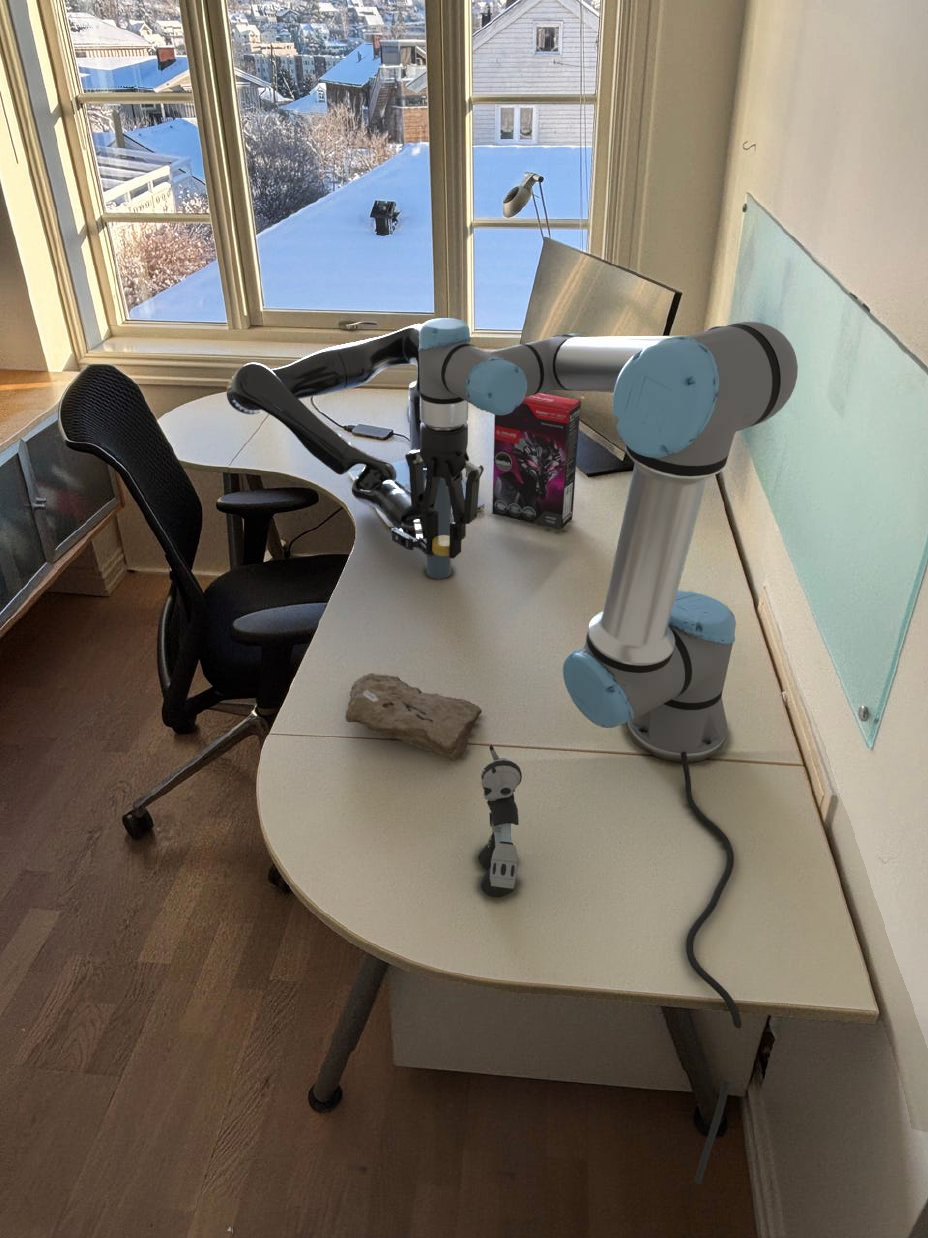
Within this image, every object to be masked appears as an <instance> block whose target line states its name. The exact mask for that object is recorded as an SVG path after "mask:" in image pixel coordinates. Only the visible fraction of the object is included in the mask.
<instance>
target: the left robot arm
mask: <svg viewBox="0 0 928 1238" xmlns="http://www.w3.org/2000/svg"><path fill="white" fill-rule="evenodd" d="M423 324H424V323H417V324H413V325H410V326H407V327H404V328H402V329H399V330H397V331H393V332H391V333H389V334H385V335H382V336H378V337H373V338H368V339H365V340H359V341H356V342H355V341H354V342H349V343H345V344H344V343H343V344H341V345H336V346H332V347H327V348H325V349H322V350H319V351H317V352H314V353H312V354H309V355H307V356H305V357H303V358H301V359H299V360H296V361H294V362H292V363H290V364H288V365H284V366H281V367H278V368H271V369H270V368H269V367H267V366H266V365H264V364H261V363H258V362H249V363H246V364H244V365H242V366H241V367H240V368H238V370H236V372H235V374H234V375H233V376H232V377H231V379H230V380H229V382H228V383H227V387H226V399H227V402H228V404H229V405H230V407H231V408H232V409H234V410H235V411H236V412H238V413H241V414H243V415H249V416H255V415H259V414H262V413H264V412H265V413H266V414H268V415H270V416H272V417H273V418H275V419H276V420H278V421H279V422H280V423H281V424H283V425H284V426H285V427H286V428H287V429H288V430H289V431H290V432H291V433H292V434H293V435H294V436H295V438H296V439H297V440H298V441H299V442H300V444H301V445H302V446H303V447H304V448H305V450H307V452H309V453H310V455H312V456H313V457H314V458H315V459H317V460H318V461H319V462H320V463H322V464H323V465H324V466H326V467H327V468H328V469H330V470H331V471H332V472H334V473H335V474H337V475H340V476H343V475H345V474H346V473H348V472H349V471H350V470H352V468H354V467H355V466H357V465H364V467H363V468H362V469H361V470H360V472H359V473H358V475H357V476H356V477H355V478H354V480H352V483H351V486H350V491H351V494H352V496H353V498H355V500H357V501H358V502H360V503H361V504H364V505H367V506H368V507H371V508H376V509H378V511H380V512H381V513H382V514H383V515H384V516H385V518H386V520H388V522H389V523H390V524H391V525H392V526H393V527H392V528H391V529H390V530H391V541H392V542H394V543H395V544H397V545H398V546H401V547H402V548H403V549H406V550H407V551H413V550H414V549H415V548H416V549H417V550H420V551H421V552H422V553H423V554H424V555H425V556H426V555H429V556H430V557H431V556H434V553H433V551H431V552H429V551H426V531H423V528H422V514H421V512H420V511H419V510H418V509H416V510H415V509H413V508H412V506H411V491H410V490H407V489H406V488H405V487H404V486H403V485H402V484H401V483H400V482H398V481H397V477H398V476H397V475H398V474H397V471H396V469H395V467H394V466H393V465H392V464H391V462H388V461H387V460H385V459H382V458H380V457H378V456H375V455H372V454H370V453H368V452H366V451H364V450H361V449H360V448H358V446H357V447H356V446H355V445H353V444H352V443H351V442H350V441H348V439H346V438H345V437H343V436H342V435H341V434H339V433H338V432H337V431H336V430H334V429H333V428H332V427H331V426H329V425H328V424H326V422H324V421H323V420H322V419H321V418H319V416H317V415H316V414H315V413H314V412H313V411H311V410H310V408H308V407H307V406H306V405H305V403H304V402H302V401H301V400H302V399H309V398H313V397H318V396H319V397H320V396H323V395H327V394H332V393H333V394H334V393H339V392H343V391H346V390H349V389H353V388H357V387H360V386H362V385H365V384H366V383H368V382H370V381H371V380H372V379H373V378H375V377H376V376H377V375H378V374H380V373H381V372H383V371H384V370H387V369H389V368H393V367H399V366H403V365H414V366H416V380H415V381H413V382H411V383H410V384H409V386H408V403H407V407H406V415H407V420H408V422H409V452H411V451H412V450H414V449H417V450H420V448H421V446H422V445H421V442H420V424H421V420H420V377H419V351H418V348H419V343H420V328H421V326H422V325H423ZM422 462H423V468H427V467H426V465H425V463H424V461H422ZM423 472H424V474H426V472H427V470H423ZM452 521H454V519H453V513H451V522H452Z"/></svg>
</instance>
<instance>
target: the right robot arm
mask: <svg viewBox="0 0 928 1238" xmlns="http://www.w3.org/2000/svg"><path fill="white" fill-rule="evenodd" d="M422 324H423V325H422V326H421V328H420V343H419V348H418V351H419V377H420V420H421V424H420V442H421V445H422V446H421V448H420V450H417V449H414V450H412V451H411V452H410V451H409V452H408V453H406V454H405V456H404V458H405V460H406V464H407V466H408V472H409V474H408V475H409V491H410V492H411V506H412V508H413V509H415V510H416V509H418V510H419V511H420V512H421V514H422V528H423V531H426V551H429V552H431V551H432V541H433V539H434V538H435V537H436V536H438V511H433V509H434V508H436V506H435V501H436V496H437V491H438V486H439V481H440V477H442V478H444V479H445V483H446V486H448V490H449V496H450V502H451V514H452V515H453V519H454V521H452V522H451V523H450V557H449V558H451V560H452V559H453V560H454V559H455V558H456V557H457V556H458V555H460V554H461V553H462V540H464V539H465V538H466V536H467V534H466V533H467V525H470V524H471V523H472V522H473V521H474V520H475V519H476V518H477V517H478V510H479V509H478V506H479V494H480V478H481V477H482V475H483V472H484V466H483V464H482V465H481V464H478V465H476V464H474V463H473V462H471V461H470V457H469V455H468V452H467V449H468V445H469V444H468V443H469V424H468V421H469V404H471V405H472V406H473V407H475V408H476V409H477V410H480V411H484V412H487V413H490V414H492V415H494V416H495V415H506V414H509V413H511V412H512V411H513V410H514V409H515V408H516V407H518V406H519V405H520V404H521V403H522V401H523V399H524V397H528V396H531V395H535V394H539V393H543V394H544V393H546V392H552V391H566V392H567V391H569V392H570V391H571V392H572V391H574V392H575V391H576V392H591V393H593V392H595V393H610V394H611V393H612V416H613V418H614V419H617V422H618V423H617V424H616V425H615V428H616V430H617V432H618V435H619V437H620V438H621V440H622V441H623V443H624V449H625V452H626V454H627V456H628V457H629V458H630V460H632V462H633V463H634V465H633V469H632V474H631V479H630V484H629V488H628V493H627V498H626V503H625V507H624V512H623V513H624V514H623V517H622V522H621V526H620V530H619V536H618V541H617V546H616V549H615V555H614V560H613V565H612V569H611V573H610V579H609V584H608V589H607V593H606V597H605V603H604V606H603V610H602V611H600V612H599V613H597V614H596V615H594V616H593V617H592V619H591V620H590V622H589V625H588V628H587V632H586V637H585V642H584V645H583V647H581V649H575V650H574V651H572V652H571V653H570V654H569V655H567V656H566V658H565V659H564V661H563V664H562V676H563V677H562V678H563V681H564V685H565V688H566V690H567V693H568V695H569V696H570V699H571V701H572V702H573V704H574V705H575V707H576V708H577V709H578V710H579V712H580V713H581V714H582V715H583V716H584V717H585V718H586V719H587V720H588V721H590V722H591V723H593V724H595V725H596V726H598V727H600V728H603V729H614V728H617V727H620V726H621V725H623V724H625V728H626V732H627V734H628V736H629V738H630V739H631V741H632V742H634V744H636V745H637V746H638V747H639V748H640V749H641V750H643V751H645V752H646V753H648V754H650V755H651V756H654V757H656V758H659V759H662V760H666V761H670V762H675V763H681V764H682V769H683V777H684V791H685V792H684V793H685V797H686V801H687V803H688V806H689V807H690V809H691V811H692V812H693V814H694V815H695V816H696V818H698V819H699V820H700V821H701V822H702V823H703V824H704V825H706V826H707V827H708V829H710V830H711V831H712V832H713V833H714V834H715V835H717V837H718V838H719V839H720V840H721V842H722V844H723V845H724V848H725V850H726V865H725V869H724V871H723V873H722V875H721V878H720V880H719V881H718V883H717V885H716V887H715V889H714V891H713V894H712V896H711V898H710V900H709V903H708V904H707V905H706V907H705V909H704V910H703V911H702V912H701V914H700V915H699V916H698V917H697V919H695V921H694V922H693V924H692V925H691V927H690V928H689V930H688V933H687V935H686V939H685V941H686V942H685V951H686V956H687V961H688V962H689V964H690V966H691V969H693V970H694V972H695V973H696V974H697V975H698V976H699V977H700V978H701V979H702V980H703V981H704V982H705V983H706V984H707V985H709V986H710V988H712V989H713V990H714V991H715V992H716V993H717V994H718V995H719V996H720V997H721V998H722V1000H723V1001H724V1002H725V1004H726V1006H727V1008H728V1010H729V1012H730V1015H731V1018H732V1023H733V1025H734V1027H735V1028H736V1029H741V1028H742V1026H743V1025H742V1018H741V1015H740V1012H739V1009H738V1006H737V1004H736V1003H735V1001H734V999H733V998H732V996H731V995H730V994H729V992H728V991H727V990H726V989H725V987H723V986H722V985H721V983H719V982H718V981H717V980H716V979H715V978H714V977H712V976H711V975H710V974H709V973H708V972H707V971H706V970H705V969H704V968H703V967H702V966H701V965H700V963H699V961H698V960H697V958H696V956H695V951H694V942H695V938H696V936H697V934H698V931H699V930H700V928H702V925H704V923H705V922H706V921H707V919H709V917H710V916H711V914H712V913H713V912H714V910H715V908H716V906H717V905H718V902H719V901H720V898H721V895H722V894H723V891H724V890H725V887H726V886H727V883H728V881H729V879H730V877H731V875H732V873H733V869H734V865H735V855H734V850H733V845H732V844H731V841H730V839H729V838H728V836H727V835H726V834H725V833H724V832H723V830H722V829H721V828H720V827H718V825H716V824H715V823H714V822H713V821H711V819H710V818H708V817H707V815H705V814H704V813H703V812H702V810H700V808H699V807H698V806H697V804H696V802H695V800H694V797H693V793H692V778H691V771H690V766H689V763H694V762H700V761H703V760H706V759H709V758H711V757H714V755H716V754H718V752H720V751H721V750H722V748H723V747H724V744H725V743H726V740H727V739H726V738H727V734H728V721H727V716H726V712H725V708H724V707H725V706H724V701H723V692H724V686H725V682H726V678H727V674H728V668H729V664H730V659H731V654H732V651H733V650H732V649H733V645H734V643H735V641H736V627H737V621H736V617H735V615H734V613H733V611H732V610H731V609H730V608H729V607H728V606H727V605H726V604H725V603H723V602H722V601H720V600H719V599H717V598H714V597H712V596H709V595H707V594H703V593H699V592H694V591H689V590H679V587H680V584H681V580H682V576H683V573H684V569H685V564H686V562H687V558H688V554H689V550H690V546H691V543H692V540H693V536H694V532H695V529H696V524H697V521H698V517H699V514H700V513H699V512H700V510H701V506H702V502H703V498H704V494H705V491H706V487H707V483H708V480H709V478H711V477H714V476H715V475H718V474H719V473H721V471H723V470H724V468H725V467H726V466H727V462H728V458H729V456H730V451H731V448H732V444H733V441H734V437H735V434H737V433H738V432H739V431H742V430H745V429H748V428H751V427H754V426H756V425H760V424H762V423H765V422H766V421H768V420H769V419H771V418H773V417H774V416H775V415H776V414H778V413H779V412H780V411H781V410H782V409H783V408H784V406H785V405H786V404H787V402H788V401H789V400H790V398H791V396H792V394H793V392H794V390H795V387H796V384H797V379H798V371H799V369H798V368H799V366H798V360H797V355H796V351H795V349H794V347H793V345H792V343H791V342H790V341H789V340H788V337H786V336H785V334H783V333H782V332H781V331H780V330H779V329H778V328H776V327H773V326H771V325H769V324H767V323H763V322H758V321H757V322H756V321H743V322H735V323H732V324H728V325H718V326H717V325H716V326H712V327H709V328H707V329H705V330H704V331H701V332H697V333H694V334H689V335H641V336H639V335H637V336H635V335H634V336H633V335H632V336H585V337H584V336H582V334H579V333H563V334H556V335H553V336H552V337H547V338H544V339H540V340H535V341H532V342H526V343H521V344H516V345H512V346H508V347H503V348H499V349H493V350H484V349H482V348H480V347H477V346H475V345H473V344H472V343H471V339H472V338H471V333H470V327H469V325H468V323H467V322H466V321H464V320H462V319H459V318H458V319H457V318H451V317H441V318H440V317H439V318H434V319H430V320H427V321H425V322H424V323H422ZM422 461H424V463H425V465H426V467H427V472H426V473H424V472H423V462H422ZM464 469H465V475H464V476H465V478H466V481H465V489H464V488H463V470H464ZM424 474H425V477H424ZM425 480H426V481H425ZM425 484H426V485H425ZM464 490H465V492H464ZM434 506H435V507H434ZM730 1085H731V1081H727V1080H725V1079H723V1080H722V1081H721V1086H720V1089H719V1090H720V1091H719V1094H718V1099H717V1103H716V1107H715V1110H714V1114H713V1118H712V1121H711V1124H710V1127H709V1131H708V1134H707V1137H706V1141H705V1143H704V1147H703V1150H702V1153H701V1156H700V1159H699V1163H698V1166H697V1169H696V1173H695V1177H694V1183H695V1184H697V1185H700V1184H702V1182H703V1181H702V1180H703V1177H704V1174H705V1170H706V1167H707V1163H708V1160H709V1157H710V1154H711V1151H712V1148H713V1145H714V1143H715V1140H716V1136H717V1133H718V1130H719V1127H720V1124H721V1121H722V1117H723V1114H724V1110H725V1106H726V1103H727V1098H728V1094H729V1090H730Z"/></svg>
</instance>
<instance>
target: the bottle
mask: <svg viewBox="0 0 928 1238" xmlns="http://www.w3.org/2000/svg"><path fill="white" fill-rule="evenodd" d="M425 485H426V483H424V486H425ZM435 506H436V508H434V509H433V511H438V536H440V535H448V536H450V523H451V514H452V507H451V502H450V496H449V490H448V486H446V483H445V479H444V478H442V477H440V481H439V486H438V491H437V496H436V501H435ZM435 506H434V507H435ZM449 557H450V555H449V556H439V555H436V554H434V556H431V557H430V556H429V555H426V554H425V559H426V561H425V562H426V575H427V576H428V577H430V578H433V579H441V580H442V579H445V578H448V577H450V575H451V574H452V558H449Z"/></svg>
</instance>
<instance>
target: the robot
mask: <svg viewBox="0 0 928 1238" xmlns="http://www.w3.org/2000/svg"><path fill="white" fill-rule="evenodd" d="M489 751H490V754H491V756H492V757H491V758H492V761H491V762H489V763H488V764H487V765H486V766H485V767H484V768H483V769H482V771H481V773H480V779H481V782H480V784H481V788H482V789H483V798H484V799H485V800H486V805H487V806H488V809H489V811H490V812H489V814H488V815H489V816H488V817H489V827H491V829H492V831H491V833H492V834H490V837H489V838H488V842H487V843H486V844H485V846H484V847H483V848H482V850H481V851H480V853H479V855H477V858H478V861H479V862H480V864H481V866H482V867H484V868H485V869H487V870H486V871H485V873H484V875H483V877H482V880H481V884H480V889H482V891H484V893H485V894H486V895H487V896H491V897H495V898H498V897H503V896H505V895H507V894H509V893H511V892H513V891H514V888H515V884H516V881H517V872H518V867H519V855H518V851H517V846H516V845H515V844H514V843H513V840H512V825H515V826H519V825H520V823H519V822H520V820H519V809H518V805H517V803H516V801H515V793H514V792H516V789H517V787H518V786H519V785H520V784H521V783H522V779H523V774H522V770H521V768H520V766H519V765H518V764H517V763H516V762H514V761H512V760H511V759H507V758H506V757H501V758H500V756H499V755H498V753H497V751H496V750H495V748H494V745H493V744H490V745H489Z"/></svg>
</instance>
